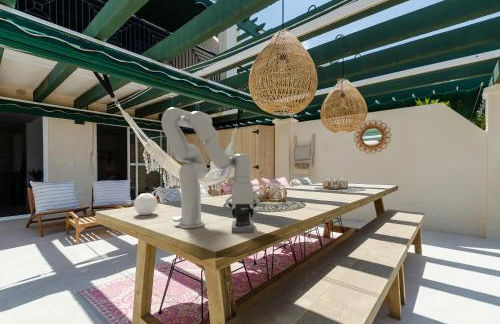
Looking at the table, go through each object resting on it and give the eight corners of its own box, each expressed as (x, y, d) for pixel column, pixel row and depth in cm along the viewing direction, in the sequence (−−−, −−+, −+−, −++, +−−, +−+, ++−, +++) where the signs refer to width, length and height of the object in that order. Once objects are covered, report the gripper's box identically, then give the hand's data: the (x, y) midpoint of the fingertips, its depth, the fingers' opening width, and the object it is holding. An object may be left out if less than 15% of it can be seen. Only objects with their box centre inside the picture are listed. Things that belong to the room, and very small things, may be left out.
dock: (231, 233, 117) (231, 227, 117) (233, 225, 130) (232, 220, 130) (253, 232, 117) (253, 227, 117) (253, 225, 130) (252, 220, 130)
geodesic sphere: (147, 201, 169) (138, 186, 161) (165, 202, 166) (157, 187, 157) (135, 219, 158) (125, 203, 150) (154, 220, 155) (145, 204, 147)
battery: (237, 227, 120) (237, 203, 120) (234, 225, 124) (234, 201, 124) (251, 226, 123) (251, 201, 123) (248, 224, 127) (248, 200, 127)
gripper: (223, 180, 119) (223, 219, 120) (261, 180, 120) (261, 218, 120) (224, 179, 127) (225, 215, 127) (260, 178, 127) (260, 215, 127)
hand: (242, 216), depth 124 cm, fingers closed on battery, 7 cm apart
